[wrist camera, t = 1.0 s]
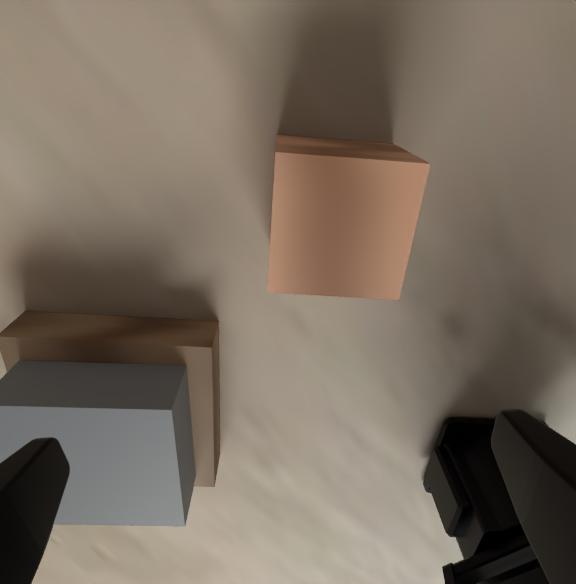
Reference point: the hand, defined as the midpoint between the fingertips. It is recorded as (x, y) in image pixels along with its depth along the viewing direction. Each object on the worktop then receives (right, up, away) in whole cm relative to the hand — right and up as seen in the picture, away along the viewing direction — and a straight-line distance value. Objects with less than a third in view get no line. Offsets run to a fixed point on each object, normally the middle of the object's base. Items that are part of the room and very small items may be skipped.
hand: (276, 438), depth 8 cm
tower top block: (-9, -4, +13) cm, 16 cm away
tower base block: (-9, -2, +16) cm, 18 cm away
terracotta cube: (+2, +7, +10) cm, 13 cm away
